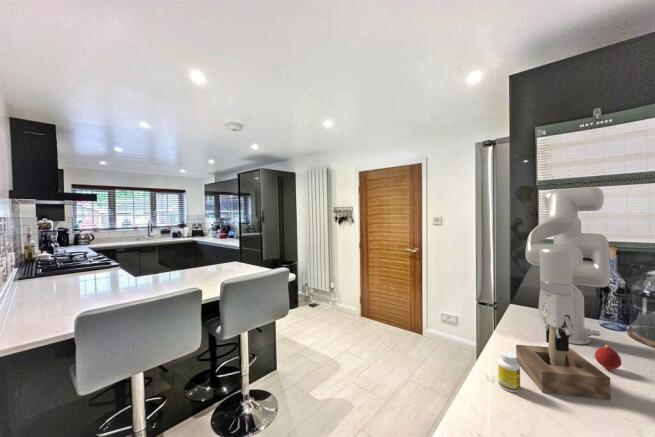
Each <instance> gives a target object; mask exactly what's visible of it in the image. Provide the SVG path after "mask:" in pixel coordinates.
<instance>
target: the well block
mask: <svg viewBox="0 0 655 437" xmlns="http://www.w3.org/2000/svg"><path fill="white" fill-rule="evenodd" d="M515 354H516V356H517V363H518V364H519V365H520V369H521V370H523V372H524V373H525V374H526V375H527V376H528V377H529V379H530V380H531V381H532V382H533V383H534V384H535V386H537V388H538V389H539V390H540V391H541V393H543V394H545V393H546V394H554V395H562V396H571V397H573V396H574V397H582V398H591V399H600V400H601V399H602V400H609V401H611V394H612V393H611V377H609V375H607V374H605V373H604V372H603V371H601V370H600V369H599V368H598V367H596V366H595V365H594V364H592V363H591V362H590V361H589V360H587V359H586V358H584V357H583V356H582V355H580V354H579V353H578V352H576V351H575V350H573V349H572V348H570V347H569V351H566V357H565V363H564V364H565V366H553V365H551V364H550V357H549V346H542V345H541V346H540V345H528V344H527V345H526V344H525V345H524V344H515Z"/></svg>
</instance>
